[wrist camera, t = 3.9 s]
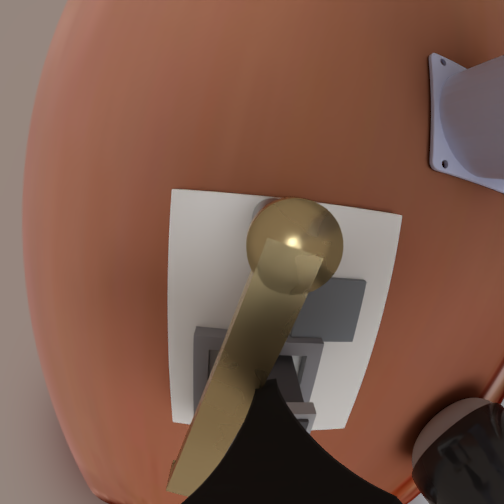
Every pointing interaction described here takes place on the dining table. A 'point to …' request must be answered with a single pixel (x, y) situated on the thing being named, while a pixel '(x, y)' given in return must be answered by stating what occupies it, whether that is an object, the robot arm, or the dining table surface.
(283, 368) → the plug
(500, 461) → the black rounded cone
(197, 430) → the lever handle
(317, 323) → the pad
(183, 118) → the dining table surface
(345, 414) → the lever mounting base
